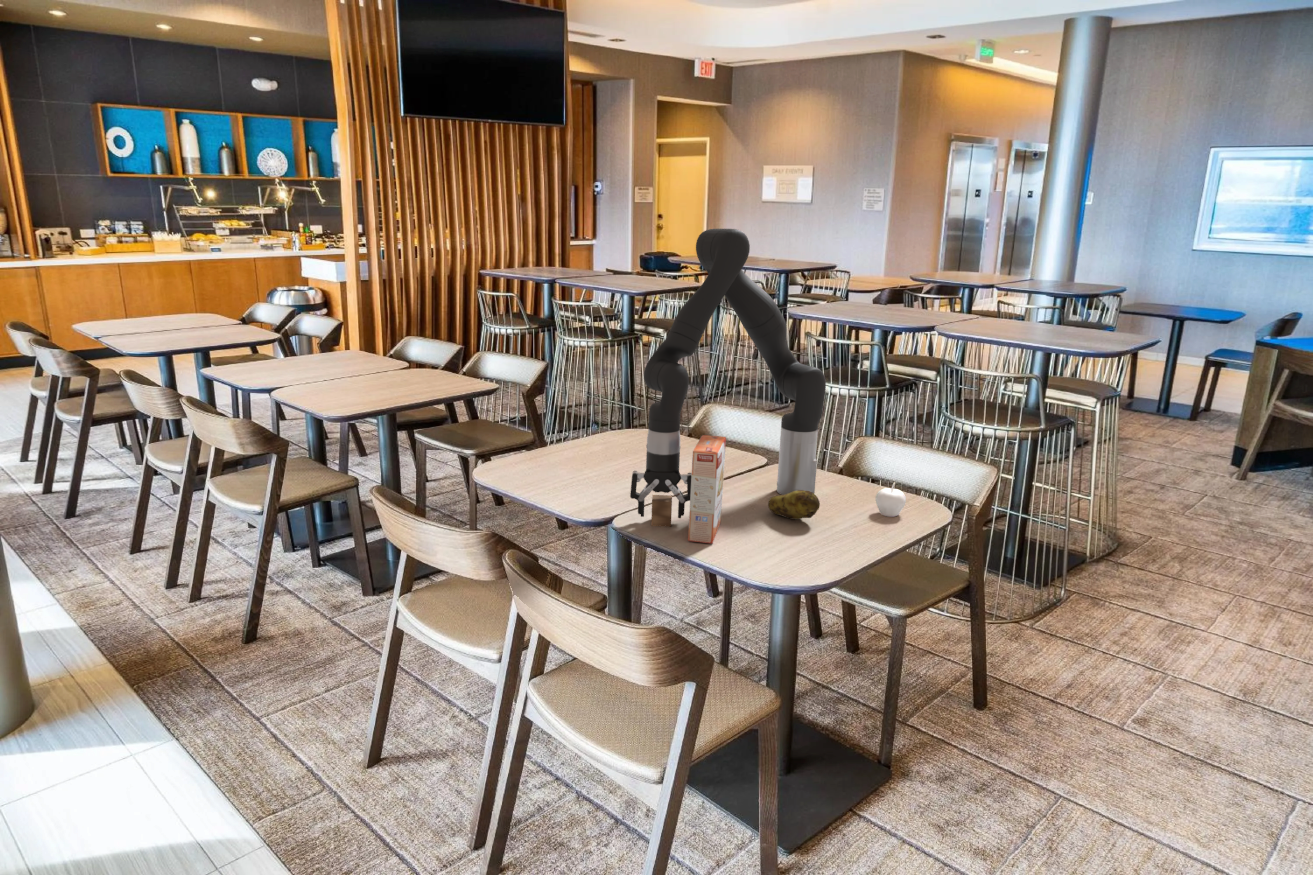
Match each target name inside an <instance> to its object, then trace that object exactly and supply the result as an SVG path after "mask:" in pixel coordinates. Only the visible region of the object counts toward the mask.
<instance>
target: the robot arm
mask: <svg viewBox="0 0 1313 875" xmlns="http://www.w3.org/2000/svg"><path fill="white" fill-rule="evenodd" d="M750 245H751V244H750V240H749V238H748V236H747V234H746V233H745V232H744V231H742V230H741V229H737V228H709V229H706V230H704V231H703V232H701V233H700V234H699V235H698V237H697V239H696V244H695V252H696V255H697V259H698V261H699V263H700V265H701V266H702V267H703V269H704V270H705V272H707V274H708V275H707V276H706V278H705V280H704V281H703V283H702V284H701V286H700V287H699V288H698V289H697V290H696V291H695V292H694V293H693V294H692V295H691V297H689V299H688V300H687V301H685V303H684V305H682V307H681V308H680V309H679V311H678V313H677V314H676V317H675V318H674V320H673V322H672V325H671V326H670V329H669V331H668V334H667V336H666V338H665V340H663V342H662V343H661V344H660V345H659V346H658V347H657V349H656V350H655V352H654V353H653V354H652V356H650V358H649V359H648V361H647V363H646V365H645V367H644V371H643V381H644V384H645V386H646V387H648V388H649V389H651V390H653V391H655V392H660V393H661V398H660V401H655V402H653V403H652V404H651V405H650V407H649V411H648V429H647V430H648V432H647V437H646V445H645V446H646V459H645V460H646V462H645V471H644V472H639V471H637V470H633V471H632V475H631V483H630V492H629V494H630V495H629V497H630V499H634V500H636V501H637V514H638V515H640V517H642V518H644V517H645V501H646V500H645V499H646V498H647V496H648V495H650V494H651V493H652V492H654V493H664V494H665V493H666V494H669V493H670V492H671V493H672V494H673V495H674V497H676V499H677V500H678V503H677V504H678V505H677V506H678V507H677V518H678V519H682V516H684V515H685V506H686V505H685V504H686V502H688V501H689V502H690V494H691V474H692V472H688V473H687V474H685V473H684V474H682V473H680V457H681V431H680V430H681V429H680V428H681V412H682V408H683V406H684V402H685V401H686V400H685V399H686V396H687V393H688V389H689V385H690V378H689V373H688V371H687V369H686V367H685V366H684V365H683V364H681V363H679V361H680V360H681V359H682V358H687V357H691V356H693V355H694V353H695V352H696V350H697V348H698V345H700V341H701V339H702V338H703V336H704V333H705V330H706V328H707V326H708V324H709V323H710V320H711V318H712V316H713V315H714V312H715V311H716V309H717V307H718V306H719V304H720V303H721V301H722V300H723V298H724V297H725V298H726V300H727V301H728V304H729V305H730V307H731V308H732V310H733V311H734V313H735V315H736V316H737V318H738V320H739V322H740V323H741V325H742V327H743V328H744V330H745V332H746V333H747V335H748V336H749V338H750V339H751V341H752V342H753V344H754V345H755V347H756V349H757V351H758V352H759V354H760V356H761V357H762V359H763V360H764V362H765V364H766V366H767V367H768V369H769V372H770V374H771V376H772V379H773V381H774V383H775V385H776V387H777V389H778V390H779V392H780V393H781V395H783V396H784V397H785V398H787V399H790V400H793V401H794V406H793V411H792V412H788V413H785V414H783V415H782V417H781V422H780V437H779V452H778V465H777V466H778V467H777V481H776V492H777V493H778V494H779V495H785V494H788V493H791V492H793V491H797V490H804V491H810V492H812V493H814V494H815V491H816V478H817V466H818V460H817V458H816V457H817V447H818V445H817V443H818V431H819V424H820V422H821V419H822V416H823V413H824V412H823V411H824V402H825V396H826V391H827V390H826V389H827V388H826V385H827V383H826V377H825V374H824V372H823V371H822V369H820V368H818V367H816V366H813V365H812V366H811V365H806V364H803V363H801V362H800V361H799V360H797V359H796V357H795V356H794V354H793V353H792V351H791V349H790V348H789V346H788V343H787V342H788V341H787V332H788V331H787V328H788V327H787V323H786V322H787V321H786V320H785V318H784V315H783V313H782V311H780V308H779V307H778V304H777V303H776V302H775V300H774V299H773V298H772V297H771V296H770V294H769V293H768V292H766V291H765V290H764V289H763V288H762V287H761V286H759V284H757V283H756V282H755V281H753V280H752V279H751V278H750V277H749V276H748V275H747V274H746V273H745V272H744V271H743V268H744V266H745V264H746V262H747V261H748V258H749V255H750V251H751V249H750V248H751V247H750ZM642 479H644V481H645V482H646V485H645V486H644V487H643V489H642V490H641V491H640V492H637V484H638V483H640V482H641V480H642ZM680 481H683V483H684V485H686V488H687V491H686V492H687V493H686V494H684V492H682V490H681V489H680V487H679V486H678V484H679V483H680Z"/></svg>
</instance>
